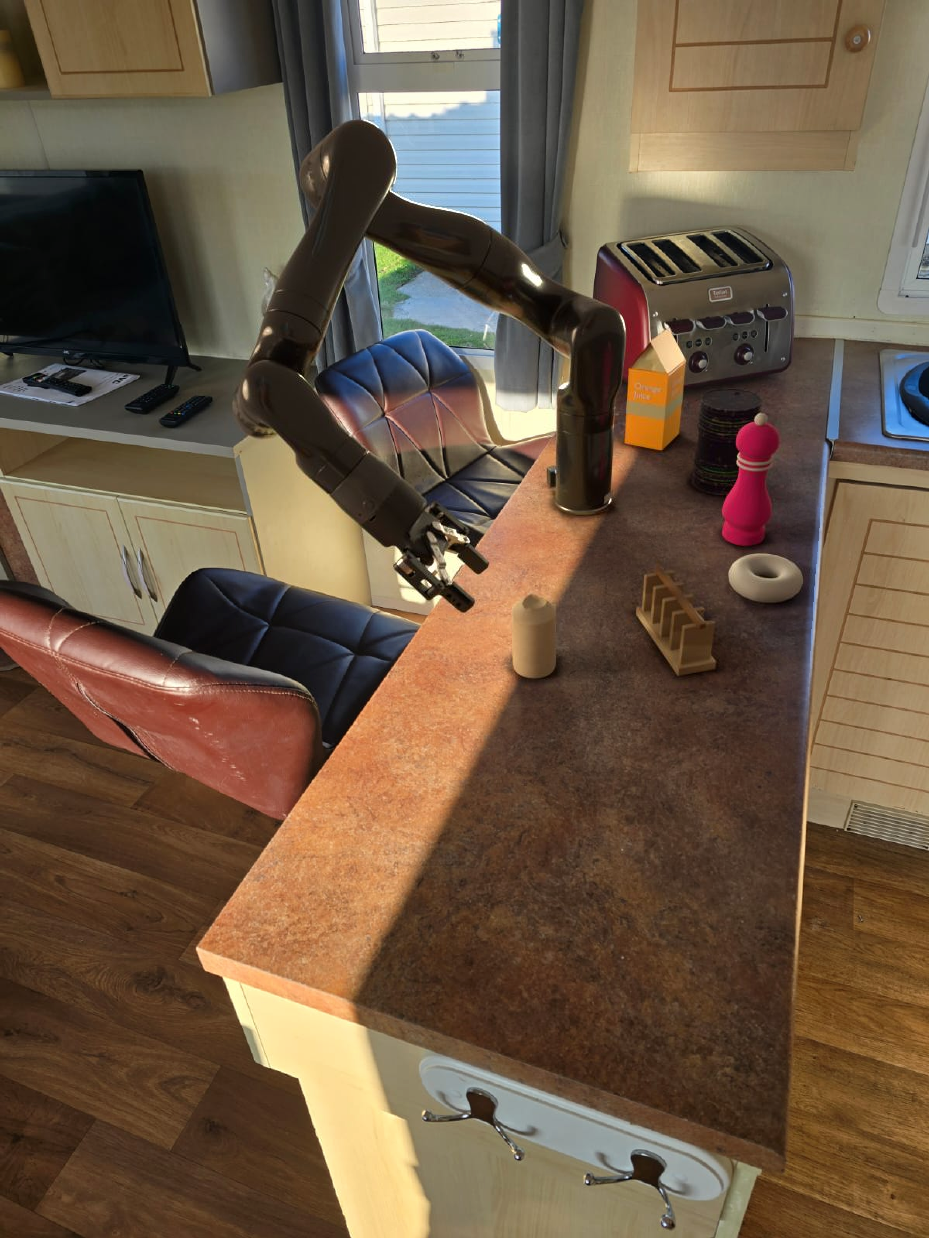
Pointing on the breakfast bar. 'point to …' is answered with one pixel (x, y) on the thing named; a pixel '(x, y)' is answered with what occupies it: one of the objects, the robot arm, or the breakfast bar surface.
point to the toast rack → (676, 623)
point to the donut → (753, 587)
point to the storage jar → (721, 437)
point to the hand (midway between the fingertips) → (477, 588)
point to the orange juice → (655, 394)
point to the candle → (534, 637)
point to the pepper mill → (751, 484)
